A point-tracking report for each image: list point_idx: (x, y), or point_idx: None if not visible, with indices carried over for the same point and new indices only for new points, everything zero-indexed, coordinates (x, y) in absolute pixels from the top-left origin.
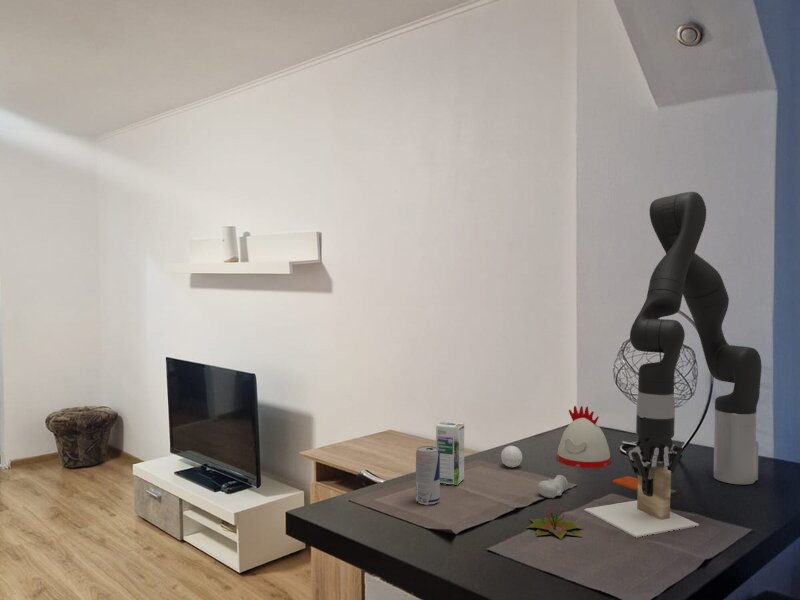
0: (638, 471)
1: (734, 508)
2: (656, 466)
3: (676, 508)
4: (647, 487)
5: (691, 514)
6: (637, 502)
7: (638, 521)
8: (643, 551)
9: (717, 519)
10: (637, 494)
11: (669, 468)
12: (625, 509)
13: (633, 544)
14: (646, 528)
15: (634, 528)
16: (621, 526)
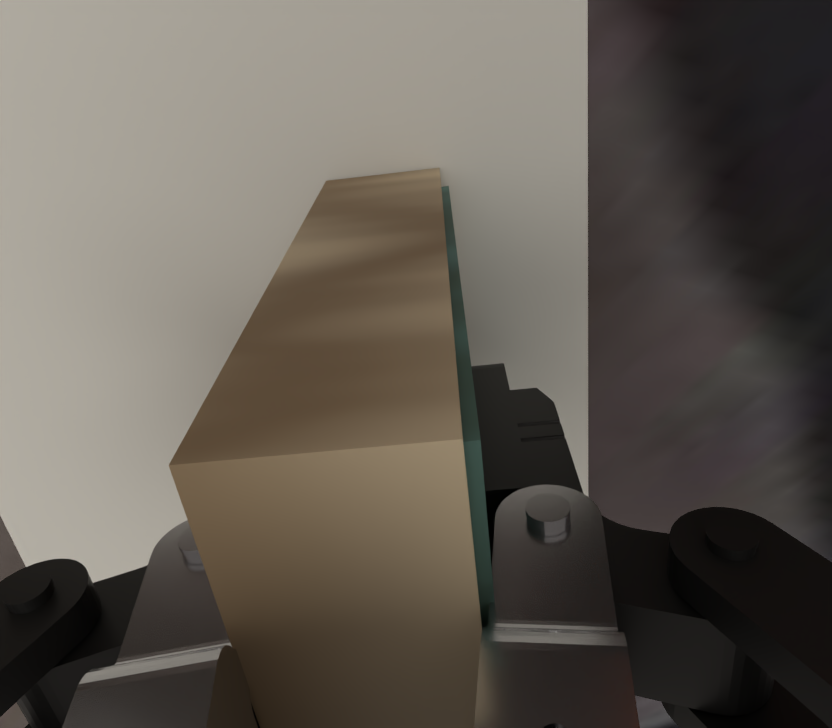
0: (20, 703)
1: None
2: (430, 726)
3: (743, 224)
4: None
5: (736, 380)
6: (319, 198)
7: (178, 437)
8: (27, 723)
9: (825, 506)
10: (302, 225)
11: (688, 708)
12: (199, 164)
13: None
14: None
15: (88, 527)
16: (3, 481)
